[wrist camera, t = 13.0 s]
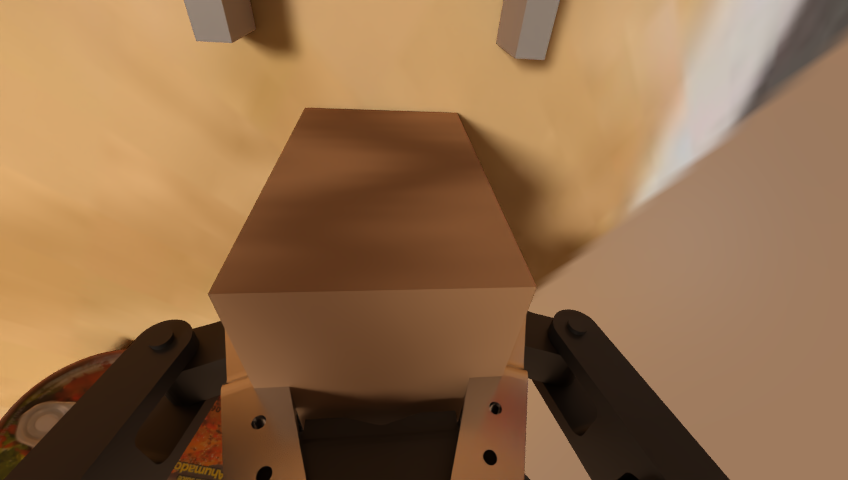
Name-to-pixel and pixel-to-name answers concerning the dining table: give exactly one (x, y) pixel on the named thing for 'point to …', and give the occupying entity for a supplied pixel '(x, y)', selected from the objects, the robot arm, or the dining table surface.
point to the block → (374, 269)
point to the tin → (56, 394)
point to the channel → (518, 35)
